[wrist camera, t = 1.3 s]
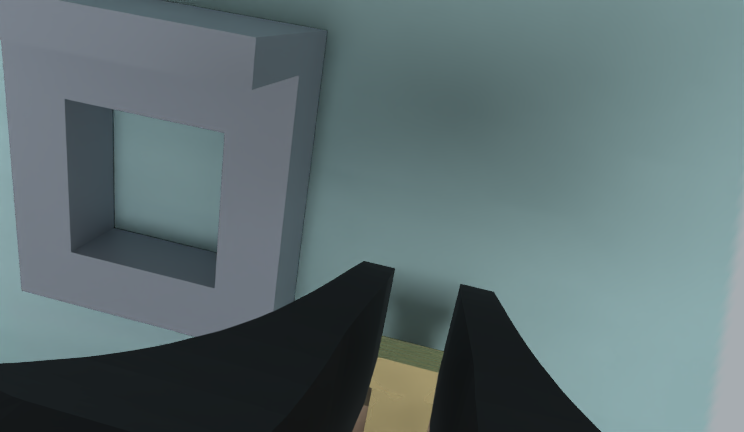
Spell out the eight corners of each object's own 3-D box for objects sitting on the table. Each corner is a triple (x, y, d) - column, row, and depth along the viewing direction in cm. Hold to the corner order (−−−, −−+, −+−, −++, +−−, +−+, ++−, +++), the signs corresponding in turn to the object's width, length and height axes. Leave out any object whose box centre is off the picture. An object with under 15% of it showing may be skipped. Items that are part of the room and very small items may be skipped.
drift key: (423, 495, 20) (419, 523, 19) (344, 472, 21) (335, 498, 20) (459, 355, 18) (457, 377, 17) (370, 332, 19) (362, 353, 17)
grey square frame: (291, 321, 22) (225, 421, 17) (67, 263, 24) (-63, 339, 18) (327, 30, 18) (255, 37, 13) (54, -20, 20) (-119, -34, 14)
